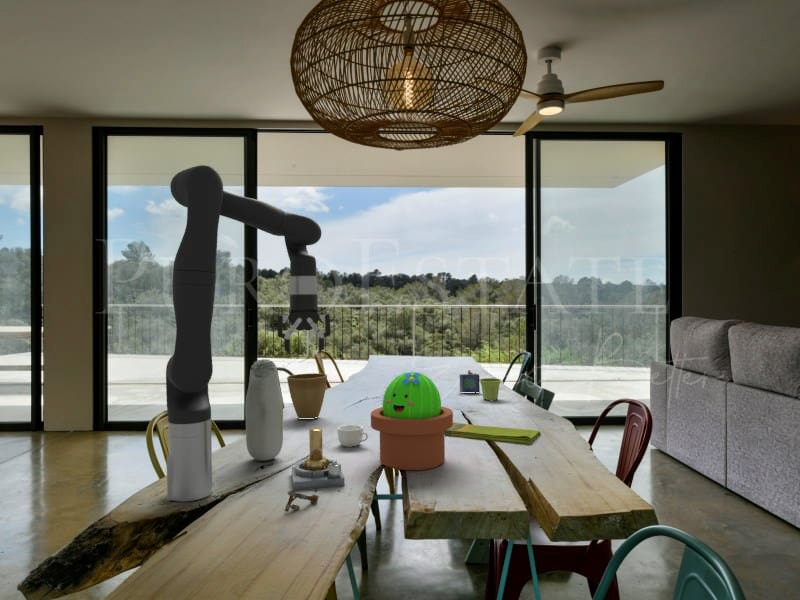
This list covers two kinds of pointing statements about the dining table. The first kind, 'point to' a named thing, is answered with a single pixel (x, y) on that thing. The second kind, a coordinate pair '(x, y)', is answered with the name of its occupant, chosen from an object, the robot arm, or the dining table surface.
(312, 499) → the brown thin angular piece
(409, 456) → the potted cactus
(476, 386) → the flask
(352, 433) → the teacup
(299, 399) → the plant pot
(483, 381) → the plant pot
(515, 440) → the dish towel
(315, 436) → the gear
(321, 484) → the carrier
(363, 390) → the dining table surface
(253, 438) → the white rounded cylinder
